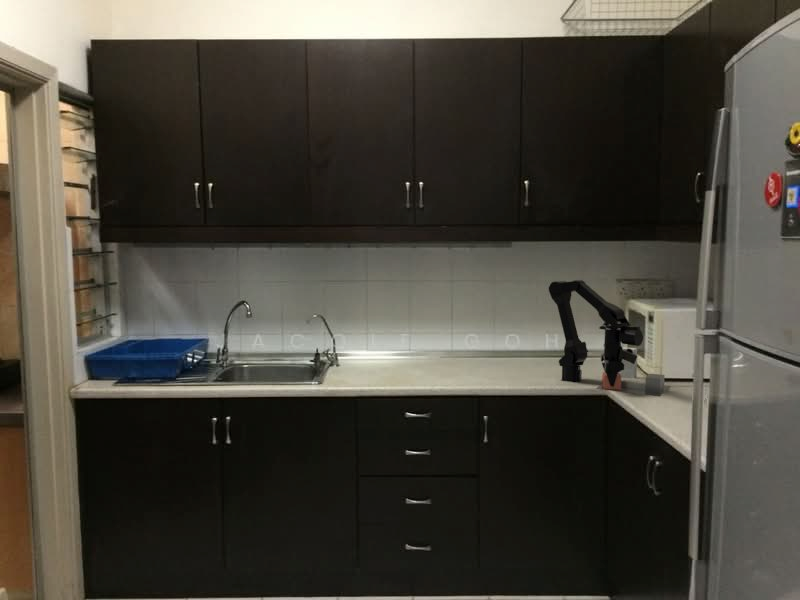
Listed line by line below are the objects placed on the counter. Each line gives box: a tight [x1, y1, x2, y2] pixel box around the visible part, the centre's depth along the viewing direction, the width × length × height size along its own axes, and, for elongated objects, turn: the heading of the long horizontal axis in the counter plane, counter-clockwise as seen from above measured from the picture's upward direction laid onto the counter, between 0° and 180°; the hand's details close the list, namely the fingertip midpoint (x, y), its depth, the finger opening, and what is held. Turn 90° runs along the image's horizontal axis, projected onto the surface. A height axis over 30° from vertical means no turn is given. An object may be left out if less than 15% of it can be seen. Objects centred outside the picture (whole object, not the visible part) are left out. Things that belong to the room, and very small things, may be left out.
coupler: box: [595, 372, 671, 397], centre depth 234 cm, size 22×20×6 cm
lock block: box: [601, 371, 622, 390], centre depth 233 cm, size 6×5×5 cm
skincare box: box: [619, 346, 638, 379], centre depth 253 cm, size 6×4×12 cm
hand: (611, 384), depth 233 cm, fingers closed on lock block, 5 cm apart
